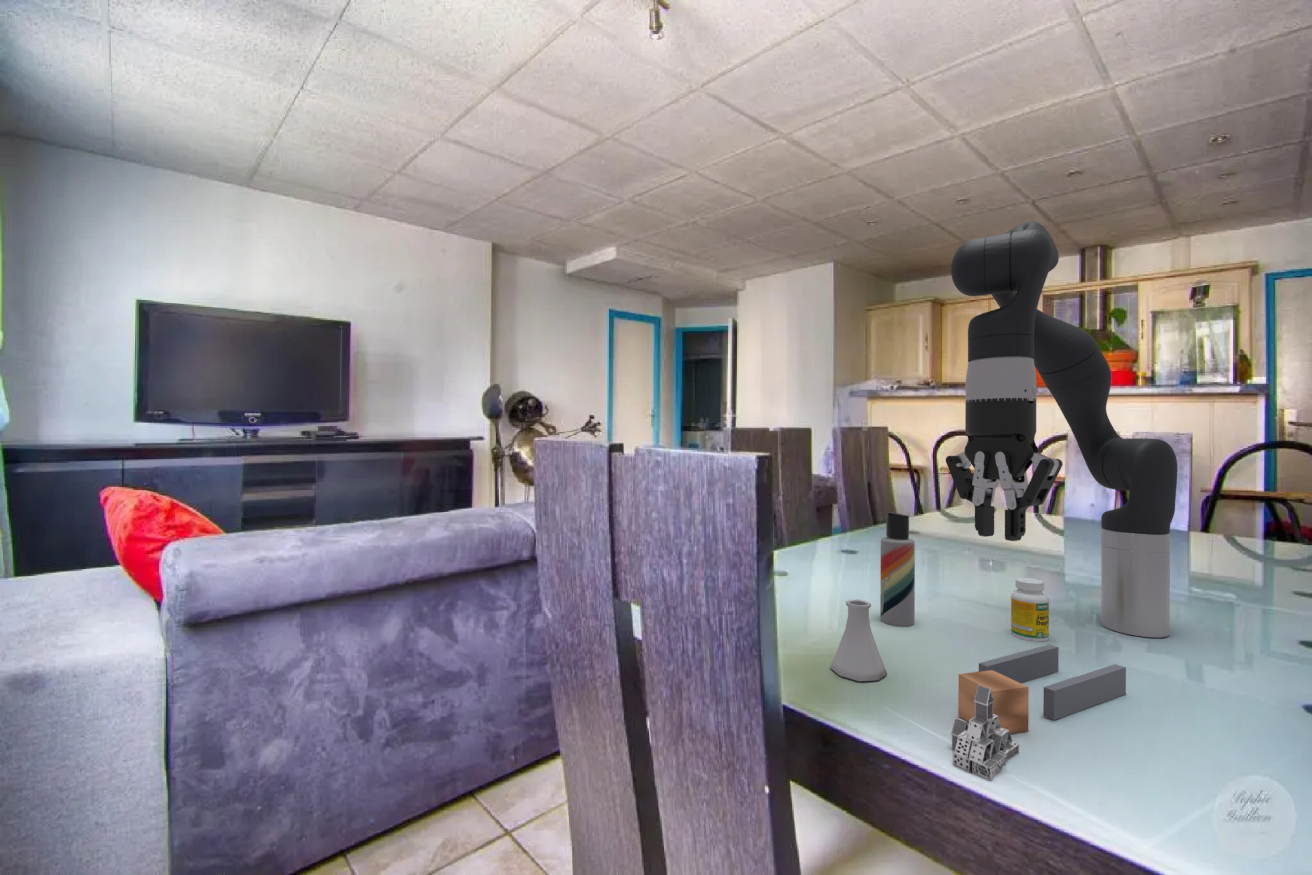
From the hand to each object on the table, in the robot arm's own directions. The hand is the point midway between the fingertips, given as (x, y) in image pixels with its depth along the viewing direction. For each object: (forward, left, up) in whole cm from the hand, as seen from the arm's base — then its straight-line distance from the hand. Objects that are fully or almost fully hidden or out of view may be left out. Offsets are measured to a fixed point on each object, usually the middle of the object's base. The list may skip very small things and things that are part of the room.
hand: (999, 537), depth 71 cm
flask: (+7, -16, -21) cm, 28 cm away
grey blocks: (-11, 0, -21) cm, 24 cm away
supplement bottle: (-30, -14, -21) cm, 39 cm away
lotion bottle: (-16, -29, -21) cm, 39 cm away
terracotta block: (+4, +2, -21) cm, 22 cm away
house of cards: (+11, +4, -22) cm, 25 cm away
